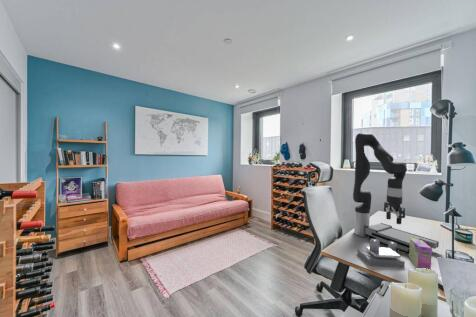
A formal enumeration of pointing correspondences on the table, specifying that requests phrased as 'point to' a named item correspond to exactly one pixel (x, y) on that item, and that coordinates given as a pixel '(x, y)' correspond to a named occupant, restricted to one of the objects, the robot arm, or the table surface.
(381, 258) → the scale base
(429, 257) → the box
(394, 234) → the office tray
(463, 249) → the table surface
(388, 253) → the scale pan
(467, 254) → the table surface
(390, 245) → the spacer
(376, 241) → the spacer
